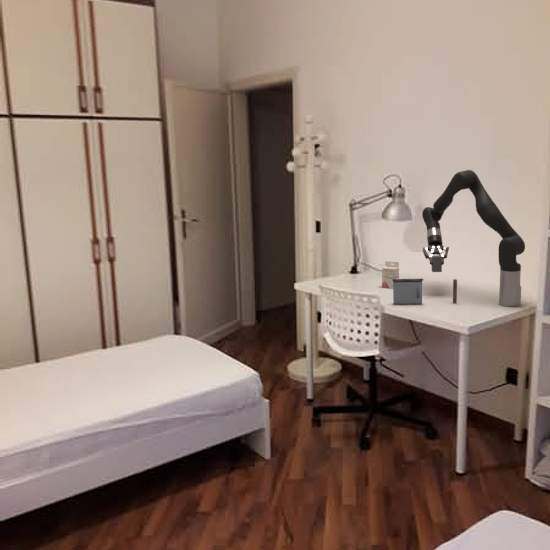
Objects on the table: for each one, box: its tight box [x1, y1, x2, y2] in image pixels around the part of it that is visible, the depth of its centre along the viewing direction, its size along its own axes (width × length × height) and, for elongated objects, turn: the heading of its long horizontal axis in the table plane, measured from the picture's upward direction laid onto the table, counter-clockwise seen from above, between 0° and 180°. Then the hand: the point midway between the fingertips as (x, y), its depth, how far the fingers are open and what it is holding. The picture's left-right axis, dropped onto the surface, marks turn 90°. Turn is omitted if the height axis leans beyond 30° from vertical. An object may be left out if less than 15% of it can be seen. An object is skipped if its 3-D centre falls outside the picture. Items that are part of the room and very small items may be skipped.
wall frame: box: [392, 278, 458, 303], centre depth 289 cm, size 32×4×13 cm, turn 82°
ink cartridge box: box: [381, 261, 400, 289], centre depth 327 cm, size 9×5×15 cm, turn 56°
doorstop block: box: [431, 255, 443, 273], centre depth 303 cm, size 5×5×8 cm
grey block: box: [394, 281, 423, 305], centre depth 289 cm, size 14×2×11 cm, turn 82°
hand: (437, 264), depth 301 cm, fingers closed on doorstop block, 4 cm apart
